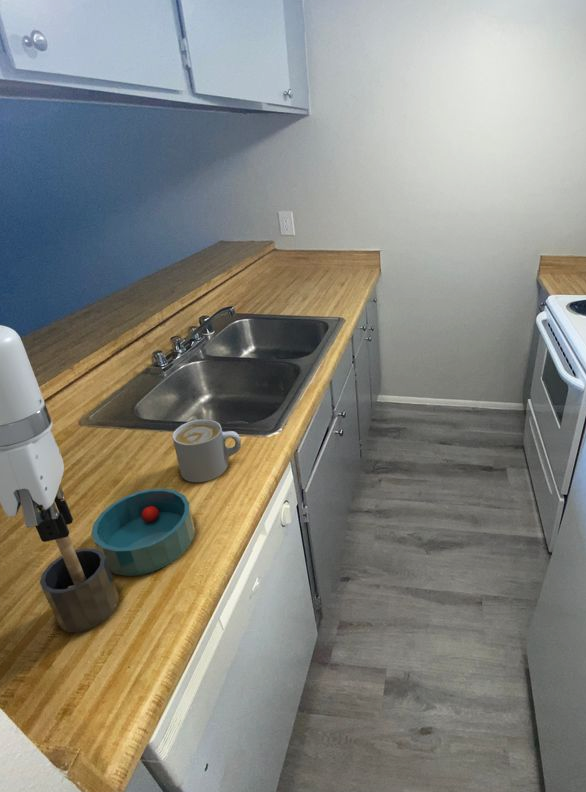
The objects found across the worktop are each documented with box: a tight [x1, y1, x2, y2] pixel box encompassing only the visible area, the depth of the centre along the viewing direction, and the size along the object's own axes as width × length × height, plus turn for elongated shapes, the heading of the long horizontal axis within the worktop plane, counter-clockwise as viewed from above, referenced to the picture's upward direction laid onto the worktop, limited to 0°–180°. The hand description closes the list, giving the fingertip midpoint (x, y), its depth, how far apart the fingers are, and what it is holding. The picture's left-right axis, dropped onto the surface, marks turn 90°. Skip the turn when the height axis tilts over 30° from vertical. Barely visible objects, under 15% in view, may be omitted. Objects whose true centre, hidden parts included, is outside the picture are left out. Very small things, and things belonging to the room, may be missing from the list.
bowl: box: [91, 488, 196, 577], centre depth 87 cm, size 16×16×6 cm
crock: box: [39, 547, 120, 633], centre depth 73 cm, size 8×8×9 cm
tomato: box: [142, 506, 159, 522], centre depth 91 cm, size 3×3×3 cm
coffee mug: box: [172, 419, 242, 483], centre depth 105 cm, size 13×10×10 cm
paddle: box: [42, 501, 86, 588], centre depth 70 cm, size 4×2×22 cm, turn 113°
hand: (58, 530), depth 68 cm, fingers closed
